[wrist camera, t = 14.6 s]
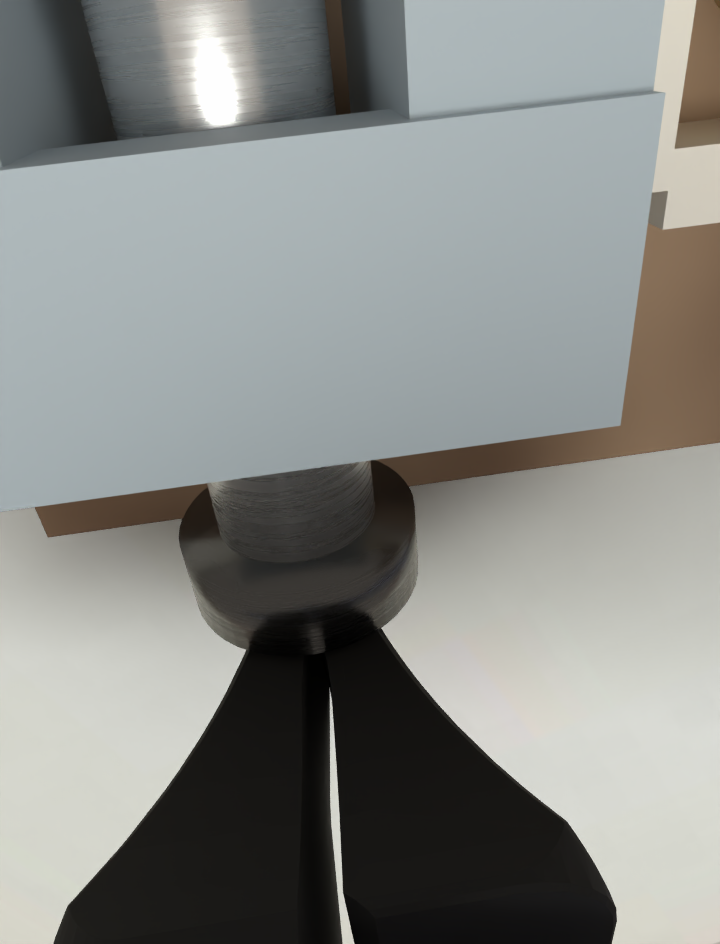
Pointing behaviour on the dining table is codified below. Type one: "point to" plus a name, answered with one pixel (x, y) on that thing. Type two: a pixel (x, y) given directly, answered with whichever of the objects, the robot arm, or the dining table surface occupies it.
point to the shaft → (282, 494)
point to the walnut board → (651, 357)
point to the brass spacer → (717, 3)
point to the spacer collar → (682, 136)
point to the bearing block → (324, 251)
